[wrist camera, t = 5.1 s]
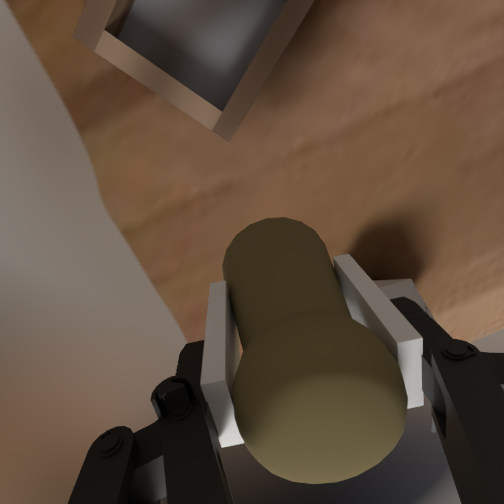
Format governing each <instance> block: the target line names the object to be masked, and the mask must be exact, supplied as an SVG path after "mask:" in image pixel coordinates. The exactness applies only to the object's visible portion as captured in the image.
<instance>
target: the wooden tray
mask: <svg viewBox="0 0 504 504" xmlns="http://www.w3.org/2000/svg"><path fill="white" fill-rule="evenodd" d="M313 2H314V0H87V2H86V5H85V7H84V10H83V12H82V14H81V17H80V19H79V22H78V24H77V26H76V29H75V31H74V34H73V36H72V37H73V38H75V39H76V40H78V41H79V42H81V43H82V44H84V45H85V46H87V47H88V48H90V49H91V50H93V51H94V52H96V53H97V54H99V55H100V56H102V57H103V58H105V59H106V60H107V61H109V62H110V63H112V64H113V65H115V66H116V67H118V68H119V69H121V70H122V71H124V72H125V73H127V74H128V75H130V76H131V77H133V78H134V79H136V80H137V81H139V82H140V83H142V84H143V85H145V86H146V87H148V88H149V89H151V90H152V91H154V92H155V93H157V94H158V95H160V96H161V97H163V98H164V99H166V100H167V101H169V102H170V103H171V104H173V105H174V106H176V107H177V108H179V109H180V110H182V111H183V112H185V113H186V114H188V115H189V116H191V117H192V118H194V119H195V120H197V121H198V122H200V123H201V124H203V125H204V126H206V127H207V128H209V129H210V130H212V131H213V132H215V133H216V134H218V135H219V136H221V137H222V138H224V139H225V140H227V141H228V142H230V140H231V138H232V137H233V135H234V133H235V132H236V130H237V128H238V127H239V125H240V123H241V122H242V120H243V118H244V117H245V115H246V113H247V112H248V110H249V108H250V107H251V105H252V103H253V102H254V100H255V98H256V97H257V95H258V93H259V92H260V90H261V88H262V87H263V85H264V83H265V82H266V80H267V78H268V77H269V75H270V73H271V72H272V70H273V69H274V67H275V65H276V64H277V62H278V60H279V59H280V57H281V55H282V54H283V52H284V50H285V49H286V47H287V45H288V44H289V42H290V40H291V39H292V37H293V35H294V34H295V32H296V30H297V29H298V27H299V25H300V24H301V22H302V20H303V19H304V17H305V15H306V14H307V12H308V10H309V9H310V7H311V5H312V4H313Z"/></svg>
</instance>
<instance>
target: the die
mask: <svg viewBox="0 0 504 504" xmlns="http://www.w3.org/2000/svg"><path fill="white" fill-rule="evenodd" d="M373 282H374V283H375V284H376V285H377V286H378V288H379V289H380V290H381V291H382V292H383V293H384V294H385V296H386V297H387V298H388V299H394V298H398V297H403V296H404V297H406V298H408V299H411V300H413V301H415V302H416V303H417V304H418V305H419V306H420V307H421V308H422V309H423V310H424V311H425V312H426V313H427V314H428V315H429V316H430V317H431V318H432V319H433V320H434V321H435V319H434V317H433V316H432V314H431V312H430V310H429V309H428V307H427V305H426V304H425V302H424V300H423V298H422V297H421V295H420V293H419V291H418V290H417V288H416V286H415V285H414V283H413V281H412V279H394V280H374V281H373ZM435 322H436V321H435Z"/></svg>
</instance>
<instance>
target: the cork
mask: <svg viewBox="0 0 504 504" xmlns="http://www.w3.org/2000/svg"><path fill="white" fill-rule="evenodd" d="M222 266H223V278H224V280H226V283H227V287H228V291H229V295H230V300H231V307H232V312H233V316H234V319H235V323H236V326H237V330H238V334H239V337H240V341H241V344H242V348H243V354H242V357H241V360H240V363H239V366H238V369H237V372H236V375H235V378H234V381H233V406H234V418H235V421H236V424H237V427H238V430H239V433H240V435H241V437H242V439H243V441H244V443H245V444H246V446H247V448H248V450H249V451H250V452H251V454H252V455H253V456H254V457H255V458H256V460H257V461H258V462H259V463H261V464H262V465H263V466H264V467H265V468H267V469H268V470H269V471H270V472H271V473H273V474H275V475H277V476H280V477H282V478H285V479H287V480H290V481H294V482H302V483H310V484H321V483H330V482H339V481H342V480H345V479H348V478H351V477H354V476H357V475H359V474H361V473H363V472H364V471H366V470H368V469H369V468H371V467H373V466H375V465H376V464H378V463H379V462H380V461H381V460H382V459H383V458H384V457H386V455H388V454H389V452H391V451H392V450H393V449H394V447H395V446H396V444H397V442H398V441H399V439H400V437H401V435H402V434H403V432H404V426H405V420H406V415H407V406H408V396H407V392H406V388H405V384H404V380H403V376H402V373H401V370H400V367H399V364H398V362H397V361H396V359H395V358H394V357H393V355H392V354H391V353H390V351H389V350H388V349H387V347H386V346H385V345H384V343H383V342H382V341H381V340H380V338H379V337H378V336H377V335H376V334H375V333H374V332H373V331H371V330H370V329H368V328H367V327H366V326H364V325H362V324H361V323H359V322H357V321H356V320H354V319H352V317H351V314H350V311H349V309H348V306H347V303H346V300H345V298H344V295H343V292H342V290H341V287H340V284H339V281H338V279H337V276H336V273H335V271H334V268H333V265H332V262H331V260H330V257H329V254H328V252H327V249H326V246H325V243H324V242H323V241H322V239H321V238H320V237H319V235H318V234H317V233H316V231H315V230H313V229H312V228H310V227H309V226H307V225H305V224H304V223H302V222H301V221H297V220H293V219H289V218H285V217H281V218H266V219H264V220H261V221H258V222H256V223H253V224H250V225H249V226H247V227H246V228H245V229H244V230H242V231H241V232H240V233H238V234H237V235H236V236H235V238H234V239H233V241H232V242H231V244H230V245H229V247H228V248H227V250H226V253H225V257H224V261H223V264H222Z"/></svg>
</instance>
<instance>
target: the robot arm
mask: <svg viewBox="0 0 504 504" xmlns="http://www.w3.org/2000/svg"><path fill="white" fill-rule="evenodd" d="M333 262H334V270H335V273H336V276H337V279H338V281H339V284H340V287H341V290H342V292H343V295H344V298H345V300H346V303H347V306H348V309H349V311H350V314H351V317H352V319H354V320H356V321H357V322H359V323H361V324H362V325H364V326H366V327H367V328H368V329H370V330H371V331H373V332H374V333H375V334H376V335H377V336H378V337H379V338H380V340H381V341H382V342H383V343H384V345H385V346H386V347H387V349H388V350H389V351H390V353H391V354H392V355H393V357H394V358H395V359H396V361H397V362H398V364H399V367H400V370H401V373H402V376H403V380H404V384H405V388H406V392H407V396H408V406H407V409H408V408H413V407H418V406H423V392H424V394H425V395H426V396H427V398H428V399H429V401H430V402H431V428H432V432H436V429H437V432H438V435H439V438H440V441H441V444H442V447H443V450H444V453H445V456H446V459H447V462H448V465H449V467H450V470H451V474H452V477H453V480H454V482H455V486H456V489H457V492H458V494H459V498H460V501H461V503H462V504H504V353H487V352H480V351H479V350H478V349H477V348H476V347H475V346H474V345H472V344H470V343H468V342H466V341H462V340H459V339H453V338H452V337H451V336H450V335H449V334H448V333H447V332H446V331H445V330H444V329H443V328H442V327H441V326H440V325H439V324H438V323H437V322H435V321H434V320H433V319H432V318H431V317H430V316H429V315H428V314H427V313H426V312H425V311H424V310H423V309H422V308H421V307H420V306H419V305H418V304H417V303H416V302H415V301H413V300H411V299H408V298H406V297H404V296H403V297H398V298H394V299H388V298H387V297H386V296H385V294H384V293H383V292H382V291H381V290H380V289H379V288H378V286H377V285H376V284H375V283H374V282H373V281H372V280H371V279H370V277H369V276H368V275H367V274H366V273H365V272H364V271H363V269H362V268H361V267H360V266H359V265H358V264H357V263H356V262H355V260H354V259H353V258H352V257H351V256H350V255H349V254H345V255H340V256H335V257H333ZM239 363H240V353H239V335H238V330H237V326H236V323H235V319H234V316H233V312H232V307H231V300H230V295H229V291H228V287H227V283H226V280H224V281H220V282H215V283H211V284H210V291H209V301H208V311H207V321H206V331H205V340H202V341H197V342H192V343H188V344H186V345H185V347H184V348H183V349H182V351H181V352H180V355H179V360H178V365H177V370H176V371H177V373H176V375H175V376H172V377H169V378H167V379H166V380H164V381H162V382H161V383H160V384H159V385H158V386H157V387H156V388H155V389H154V391H153V392H152V396H151V402H152V404H153V407H154V409H155V411H156V414H157V416H158V418H159V419H158V420H157V421H156V422H154V423H153V424H151V425H149V426H147V427H145V428H143V429H141V430H139V431H137V432H135V433H133V432H132V430H131V429H130V428H128V427H126V426H118V427H115V428H112V429H110V430H107V431H106V432H105V433H103V434H102V435H100V436H99V437H98V438H97V439H96V440H95V441H94V442H93V444H92V445H91V447H90V449H89V450H88V453H87V456H86V458H85V461H84V463H83V466H82V468H81V471H80V473H79V476H78V478H77V481H76V484H75V486H74V489H73V492H72V494H71V496H70V499H69V502H68V504H160V501H161V498H163V497H165V496H167V501H168V504H234V503H233V499H232V496H231V492H230V489H229V485H228V481H227V478H226V474H225V471H224V467H223V464H222V460H221V457H220V454H219V451H218V438H219V441H220V444H221V446H222V447H227V446H232V445H236V444H241V443H244V441H243V439H242V437H241V435H240V433H239V430H238V427H237V424H236V421H235V418H234V406H233V381H234V378H235V375H236V372H237V369H238V366H239Z"/></svg>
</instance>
